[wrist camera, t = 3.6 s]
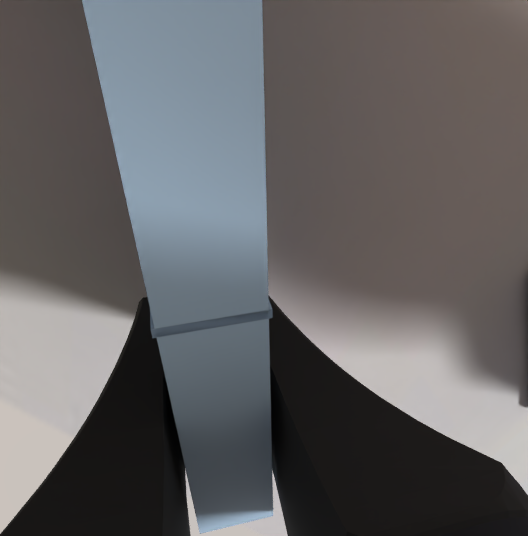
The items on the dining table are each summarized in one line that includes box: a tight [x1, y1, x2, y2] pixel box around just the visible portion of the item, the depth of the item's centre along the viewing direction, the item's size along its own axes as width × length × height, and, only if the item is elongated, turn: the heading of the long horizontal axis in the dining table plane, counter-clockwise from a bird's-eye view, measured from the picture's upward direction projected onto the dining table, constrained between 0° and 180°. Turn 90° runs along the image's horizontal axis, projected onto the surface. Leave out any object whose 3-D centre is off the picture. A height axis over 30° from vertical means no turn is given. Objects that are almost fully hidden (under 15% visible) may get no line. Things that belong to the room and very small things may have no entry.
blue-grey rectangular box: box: [82, 0, 273, 534], centre depth 8 cm, size 13×2×6 cm, turn 1°
